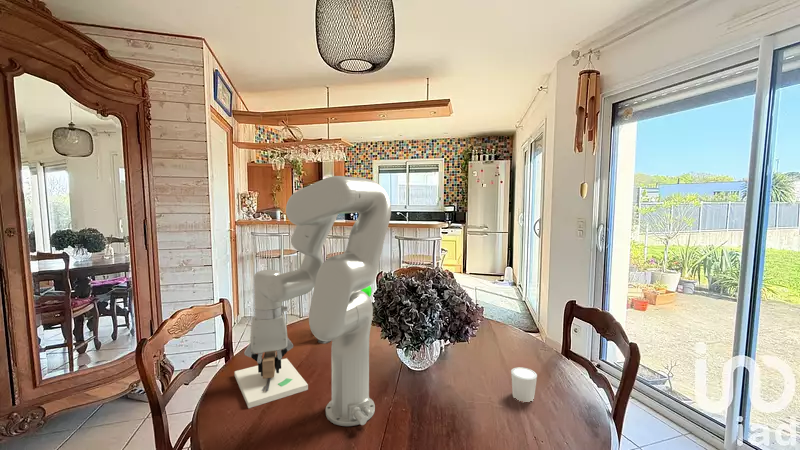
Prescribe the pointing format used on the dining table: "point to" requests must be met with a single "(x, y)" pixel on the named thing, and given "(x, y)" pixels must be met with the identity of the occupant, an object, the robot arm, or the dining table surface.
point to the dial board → (279, 386)
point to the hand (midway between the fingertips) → (269, 372)
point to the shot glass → (523, 384)
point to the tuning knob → (269, 366)
